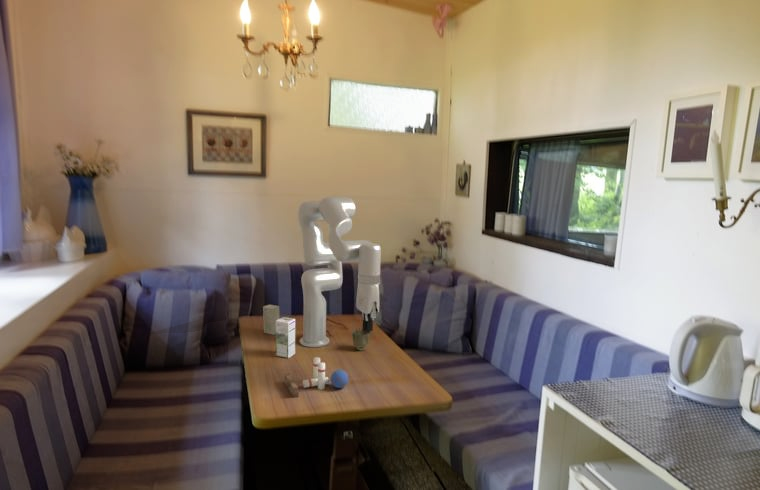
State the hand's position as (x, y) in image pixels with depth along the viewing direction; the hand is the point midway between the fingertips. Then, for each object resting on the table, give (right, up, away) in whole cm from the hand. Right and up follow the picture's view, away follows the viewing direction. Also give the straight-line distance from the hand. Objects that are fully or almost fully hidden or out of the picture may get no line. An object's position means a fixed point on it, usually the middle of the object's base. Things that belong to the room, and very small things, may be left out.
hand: (367, 330), depth 167 cm
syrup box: (-33, -14, +21) cm, 41 cm away
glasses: (-19, -10, +53) cm, 58 cm away
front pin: (-13, -16, -4) cm, 21 cm away
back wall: (-25, -18, -9) cm, 32 cm away
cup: (-4, -13, +29) cm, 33 cm away
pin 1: (-17, -17, -3) cm, 25 cm away
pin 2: (-15, -18, -7) cm, 25 cm away
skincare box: (-44, -10, +47) cm, 66 cm away
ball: (-9, -15, -7) cm, 19 cm away
